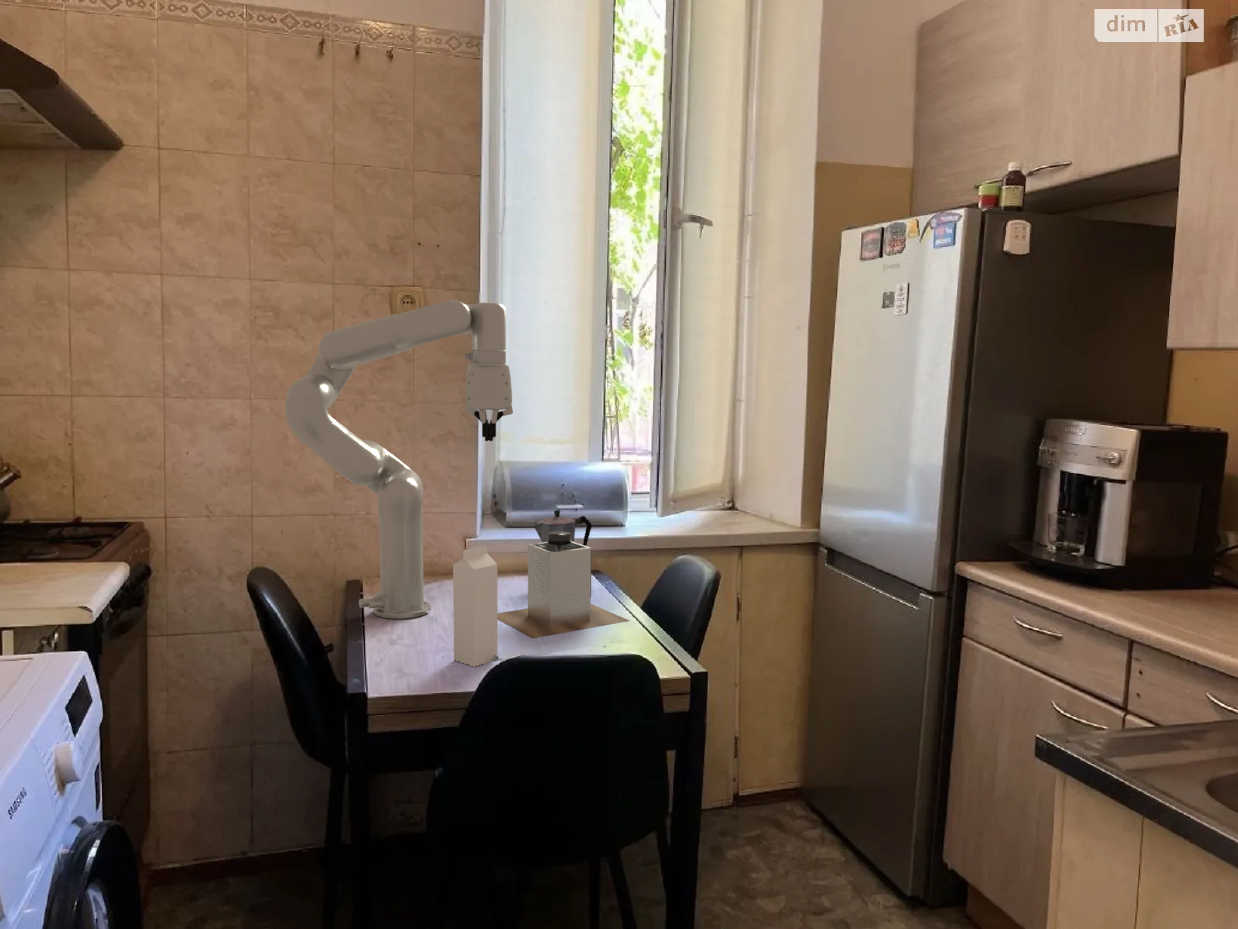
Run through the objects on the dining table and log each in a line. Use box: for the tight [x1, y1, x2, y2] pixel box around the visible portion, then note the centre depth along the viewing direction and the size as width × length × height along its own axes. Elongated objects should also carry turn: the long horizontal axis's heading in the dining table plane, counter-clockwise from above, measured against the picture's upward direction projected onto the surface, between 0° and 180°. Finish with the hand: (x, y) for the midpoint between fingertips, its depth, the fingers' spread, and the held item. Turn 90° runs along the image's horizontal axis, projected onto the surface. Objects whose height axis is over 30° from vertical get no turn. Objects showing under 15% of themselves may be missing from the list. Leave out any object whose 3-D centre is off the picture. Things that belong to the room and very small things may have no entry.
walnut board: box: [497, 603, 630, 639], centre depth 201 cm, size 24×20×1 cm
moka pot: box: [532, 509, 593, 547], centre depth 231 cm, size 10×15×20 cm, turn 115°
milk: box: [452, 545, 499, 668], centre depth 175 cm, size 6×6×22 cm
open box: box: [527, 541, 593, 627], centre depth 201 cm, size 13×10×16 cm
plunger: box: [548, 532, 571, 551], centre depth 200 cm, size 8×8×13 cm
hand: (489, 440), depth 207 cm, fingers closed
